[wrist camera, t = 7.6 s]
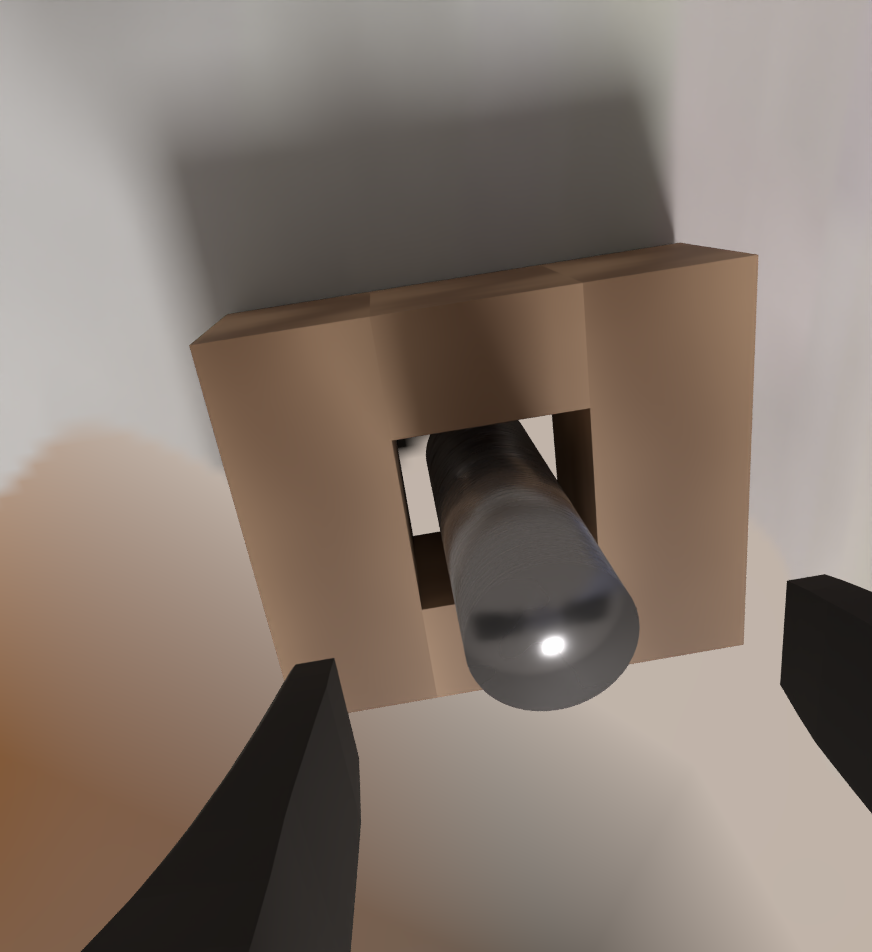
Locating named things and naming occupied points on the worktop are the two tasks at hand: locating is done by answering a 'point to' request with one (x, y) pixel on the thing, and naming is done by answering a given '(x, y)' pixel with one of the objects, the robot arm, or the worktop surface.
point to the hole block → (477, 404)
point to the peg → (526, 573)
